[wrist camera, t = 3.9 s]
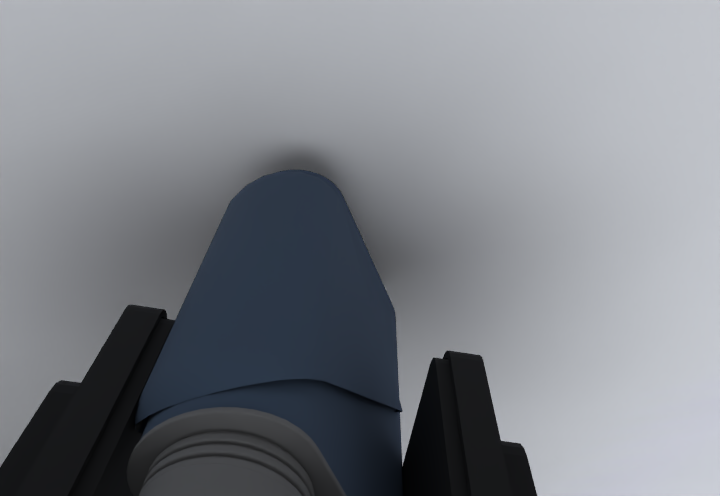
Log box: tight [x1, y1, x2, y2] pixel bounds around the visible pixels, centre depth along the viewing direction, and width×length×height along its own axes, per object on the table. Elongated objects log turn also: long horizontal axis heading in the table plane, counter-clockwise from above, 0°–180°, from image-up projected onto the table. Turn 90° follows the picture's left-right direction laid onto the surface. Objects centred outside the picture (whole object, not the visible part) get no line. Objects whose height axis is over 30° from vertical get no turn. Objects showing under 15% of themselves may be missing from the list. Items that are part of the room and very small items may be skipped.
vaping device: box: [127, 170, 404, 496], centre depth 9 cm, size 3×5×12 cm, turn 22°
